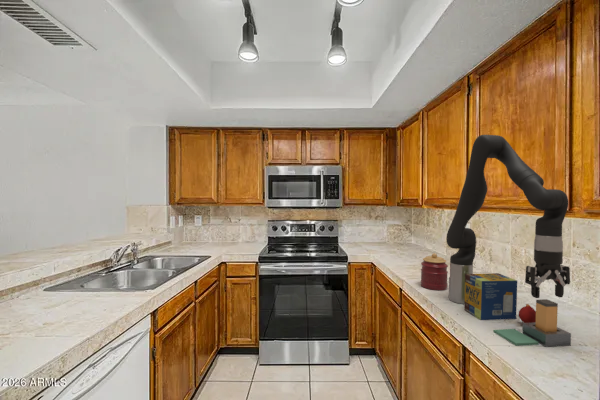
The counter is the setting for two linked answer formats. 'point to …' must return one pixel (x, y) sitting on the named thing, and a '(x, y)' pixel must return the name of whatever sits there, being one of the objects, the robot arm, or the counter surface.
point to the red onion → (527, 314)
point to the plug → (546, 315)
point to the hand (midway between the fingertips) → (547, 297)
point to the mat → (515, 337)
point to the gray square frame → (547, 336)
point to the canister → (434, 273)
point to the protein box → (490, 296)
